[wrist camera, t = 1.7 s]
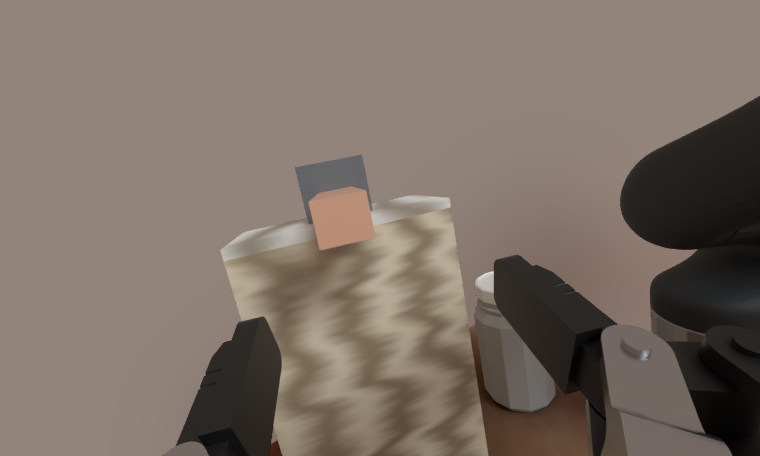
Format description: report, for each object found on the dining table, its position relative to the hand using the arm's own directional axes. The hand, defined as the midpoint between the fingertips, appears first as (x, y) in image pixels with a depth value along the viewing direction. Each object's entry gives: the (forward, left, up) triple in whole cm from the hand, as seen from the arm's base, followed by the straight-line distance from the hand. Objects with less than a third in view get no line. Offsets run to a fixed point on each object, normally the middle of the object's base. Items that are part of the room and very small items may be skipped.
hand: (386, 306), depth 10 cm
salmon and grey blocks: (-1, -18, +1) cm, 19 cm away
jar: (-22, -26, -32) cm, 46 cm away
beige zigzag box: (-1, -24, -31) cm, 40 cm away
